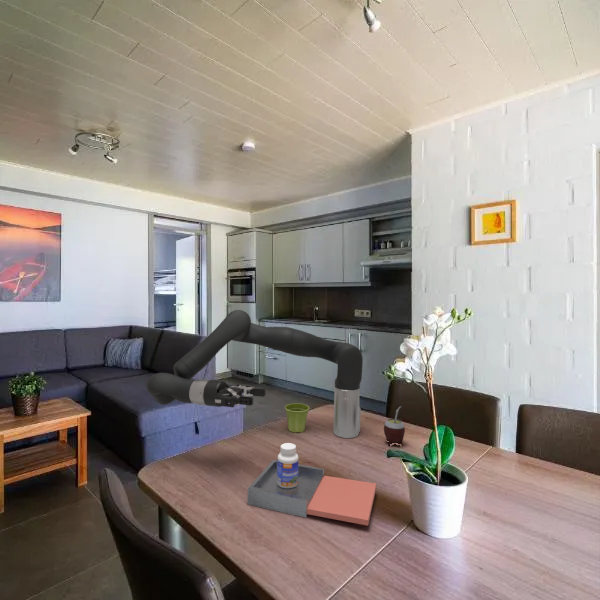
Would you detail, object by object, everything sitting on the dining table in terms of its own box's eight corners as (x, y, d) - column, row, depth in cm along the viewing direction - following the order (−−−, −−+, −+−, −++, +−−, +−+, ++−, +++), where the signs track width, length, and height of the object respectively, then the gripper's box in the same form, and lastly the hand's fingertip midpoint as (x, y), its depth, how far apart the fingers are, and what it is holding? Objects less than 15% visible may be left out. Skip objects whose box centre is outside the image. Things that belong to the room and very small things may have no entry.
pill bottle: (282, 491, 89) (282, 452, 88) (273, 480, 93) (274, 443, 93) (301, 486, 91) (302, 448, 91) (292, 476, 96) (293, 440, 96)
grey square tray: (247, 504, 87) (247, 488, 87) (272, 473, 102) (273, 459, 102) (306, 517, 82) (306, 500, 82) (323, 483, 97) (324, 468, 97)
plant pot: (313, 428, 137) (314, 406, 136) (300, 436, 129) (301, 412, 128) (293, 423, 142) (293, 401, 141) (279, 431, 134) (279, 407, 133)
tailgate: (306, 508, 82) (368, 520, 78) (324, 475, 97) (376, 483, 93) (306, 515, 82) (368, 527, 78) (324, 481, 97) (376, 489, 93)
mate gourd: (389, 438, 129) (391, 396, 129) (410, 445, 124) (411, 401, 124) (378, 444, 124) (380, 401, 124) (399, 451, 119) (400, 406, 118)
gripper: (195, 386, 100) (248, 390, 95) (220, 374, 113) (268, 377, 108) (195, 412, 100) (248, 418, 95) (221, 398, 113) (268, 402, 108)
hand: (259, 396), depth 102 cm, fingers open, 8 cm apart
